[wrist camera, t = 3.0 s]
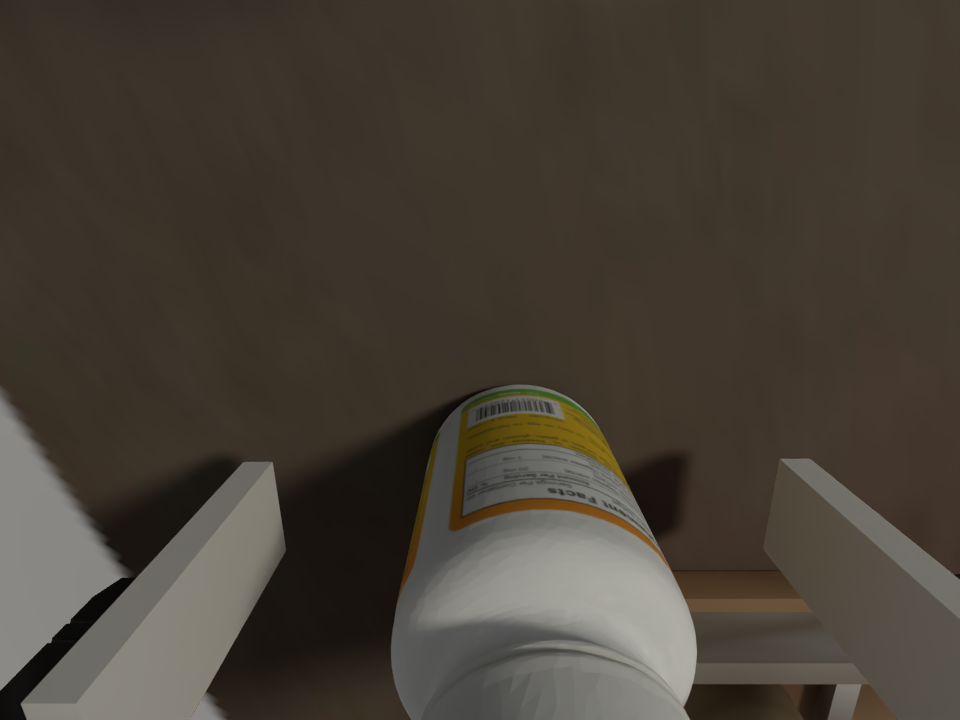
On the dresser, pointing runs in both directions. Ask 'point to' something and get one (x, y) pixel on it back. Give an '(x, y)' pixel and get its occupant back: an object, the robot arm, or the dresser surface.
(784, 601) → the board
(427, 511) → the supplement bottle
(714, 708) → the beech dowel
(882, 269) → the dresser surface
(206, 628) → the robot arm
